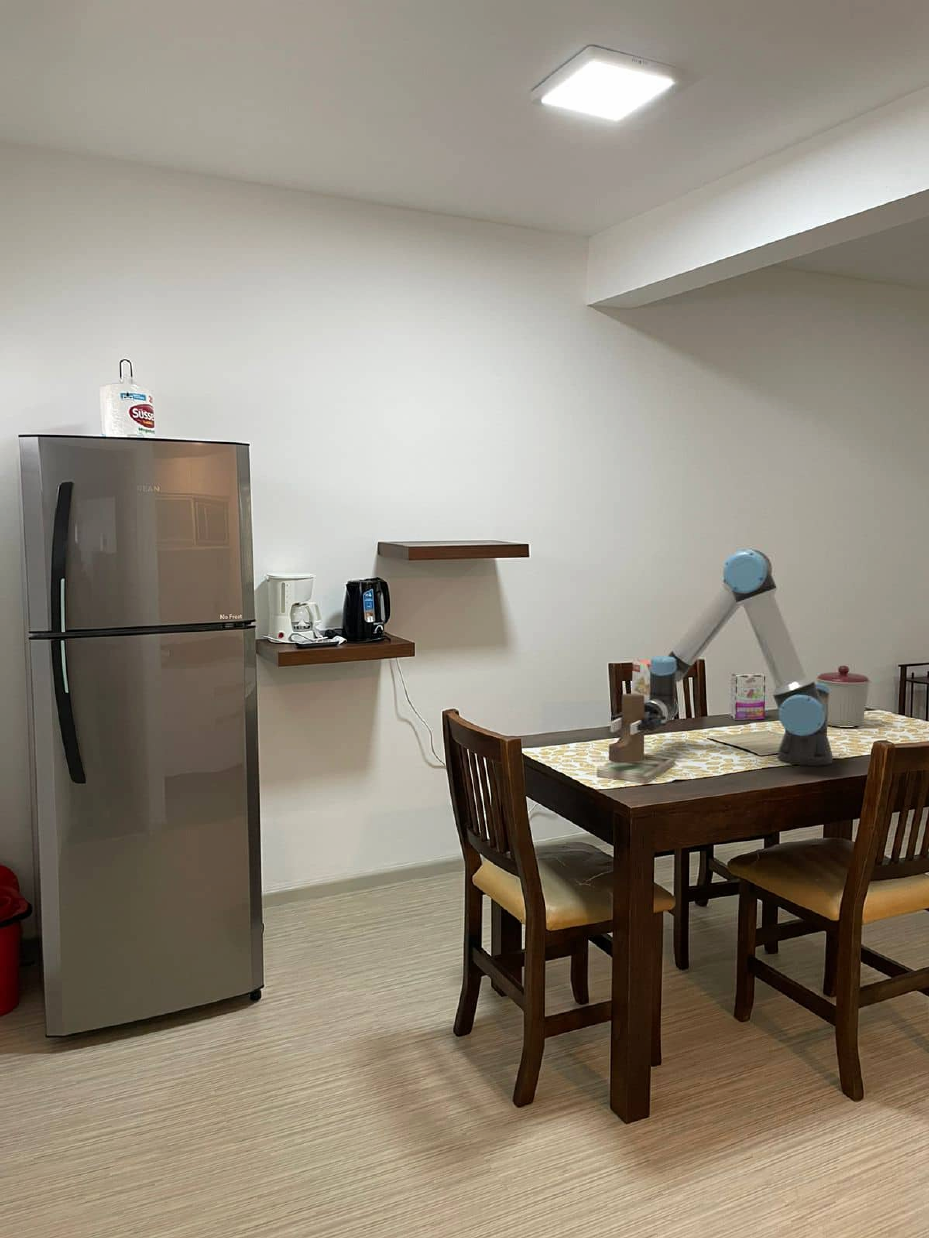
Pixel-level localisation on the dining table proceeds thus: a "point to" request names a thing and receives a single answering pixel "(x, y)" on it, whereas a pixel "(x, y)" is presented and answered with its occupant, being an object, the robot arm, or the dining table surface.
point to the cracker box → (641, 678)
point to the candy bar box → (748, 696)
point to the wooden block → (628, 744)
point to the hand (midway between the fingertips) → (621, 728)
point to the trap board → (637, 769)
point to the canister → (845, 696)
